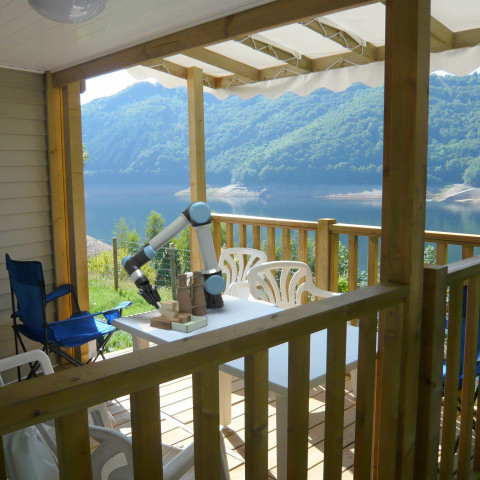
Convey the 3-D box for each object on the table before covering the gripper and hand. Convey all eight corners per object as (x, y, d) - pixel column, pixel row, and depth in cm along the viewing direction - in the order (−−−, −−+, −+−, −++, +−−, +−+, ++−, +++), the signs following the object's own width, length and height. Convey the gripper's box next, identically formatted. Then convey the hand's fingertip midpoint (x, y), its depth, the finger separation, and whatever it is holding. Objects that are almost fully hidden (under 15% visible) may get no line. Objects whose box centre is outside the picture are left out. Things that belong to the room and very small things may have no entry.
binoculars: (183, 322, 274) (181, 276, 272) (171, 319, 281) (169, 275, 278) (210, 314, 289) (209, 271, 287) (199, 311, 296) (197, 269, 293)
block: (169, 314, 274) (168, 299, 273) (178, 316, 270) (178, 301, 269) (161, 316, 269) (160, 302, 269) (171, 318, 265) (170, 303, 265)
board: (173, 318, 281) (173, 311, 281) (192, 321, 273) (192, 314, 273) (150, 326, 266) (150, 318, 266) (169, 330, 258) (169, 322, 258)
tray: (191, 322, 272) (191, 315, 272) (207, 325, 266) (207, 318, 265) (171, 329, 259) (171, 322, 259) (187, 332, 253) (187, 325, 252)
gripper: (145, 281, 287) (168, 314, 279) (128, 285, 277) (151, 319, 269) (151, 273, 283) (174, 306, 276) (134, 277, 273) (157, 311, 265)
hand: (163, 312), depth 272 cm, fingers closed
